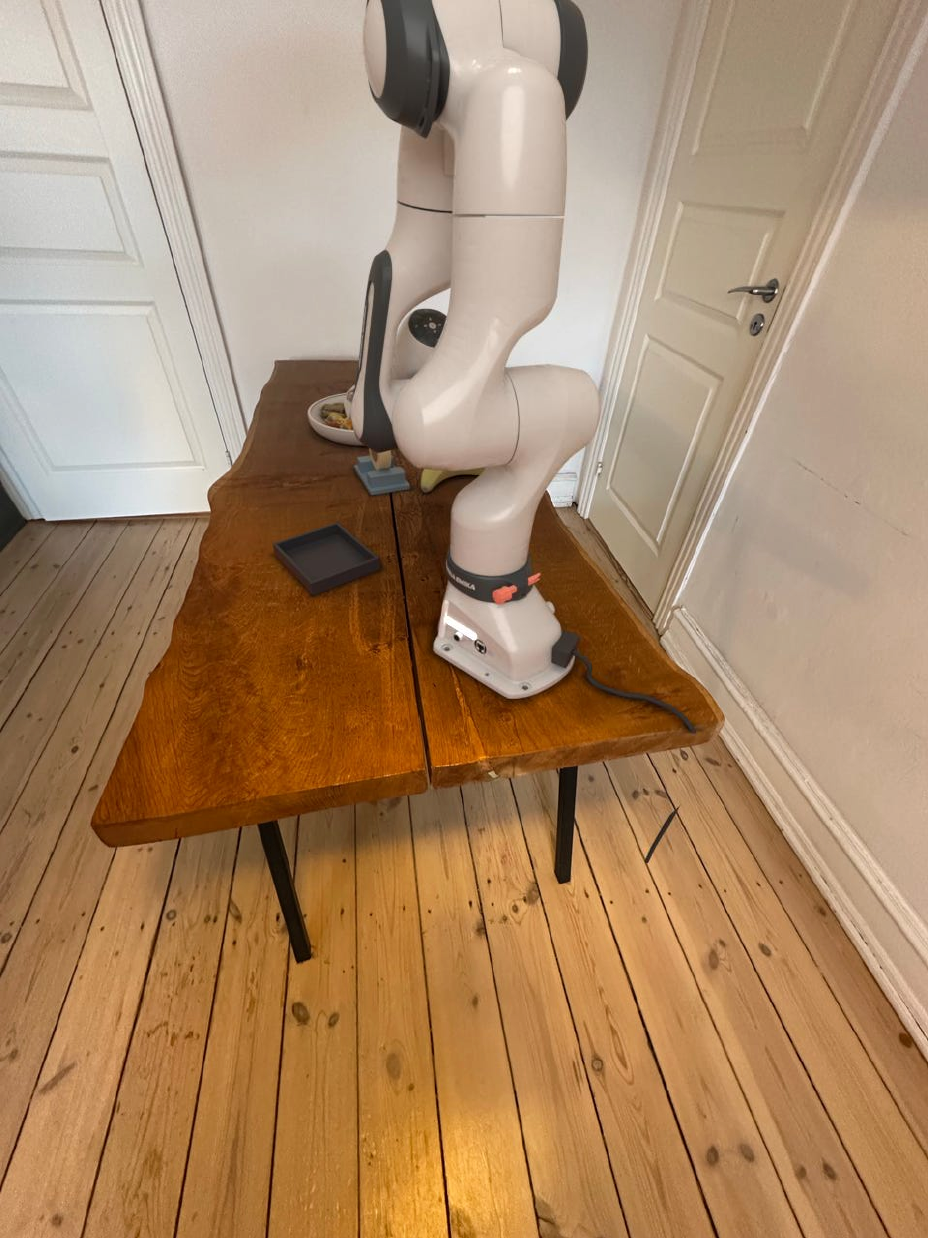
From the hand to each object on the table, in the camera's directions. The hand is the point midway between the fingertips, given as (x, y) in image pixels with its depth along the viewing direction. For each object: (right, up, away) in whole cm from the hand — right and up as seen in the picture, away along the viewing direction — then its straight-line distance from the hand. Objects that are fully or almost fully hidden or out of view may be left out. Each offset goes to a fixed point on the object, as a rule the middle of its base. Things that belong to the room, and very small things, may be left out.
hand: (393, 418), depth 106 cm
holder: (-5, -7, +19) cm, 21 cm away
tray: (-11, -29, -7) cm, 31 cm away
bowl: (-13, +13, +42) cm, 46 cm away
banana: (+14, -8, +20) cm, 26 cm away
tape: (-5, -1, +15) cm, 16 cm away
